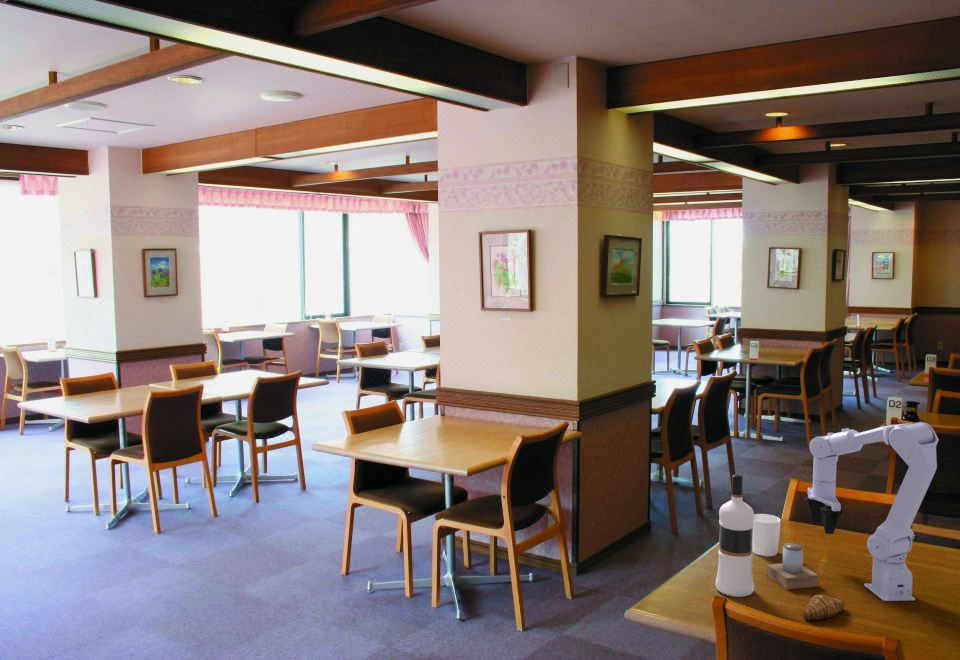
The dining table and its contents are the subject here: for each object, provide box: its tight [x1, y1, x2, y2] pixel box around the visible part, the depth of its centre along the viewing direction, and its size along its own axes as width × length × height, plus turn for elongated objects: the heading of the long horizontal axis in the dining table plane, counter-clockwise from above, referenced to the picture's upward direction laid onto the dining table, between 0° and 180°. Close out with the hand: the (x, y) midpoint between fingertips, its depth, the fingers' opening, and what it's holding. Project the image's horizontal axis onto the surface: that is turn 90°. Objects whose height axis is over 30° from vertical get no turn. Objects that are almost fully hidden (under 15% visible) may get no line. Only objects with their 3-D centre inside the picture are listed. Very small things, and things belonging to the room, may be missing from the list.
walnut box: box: [765, 562, 819, 590], centre depth 206 cm, size 9×9×3 cm
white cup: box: [752, 513, 781, 557], centre depth 226 cm, size 8×8×10 cm
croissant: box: [802, 594, 845, 622], centre depth 187 cm, size 14×7×5 cm, turn 120°
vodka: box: [715, 473, 755, 598], centre depth 199 cm, size 9×9×30 cm
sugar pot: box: [782, 542, 804, 573], centre depth 206 cm, size 5×5×6 cm
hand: (822, 528), depth 216 cm, fingers open, 7 cm apart
